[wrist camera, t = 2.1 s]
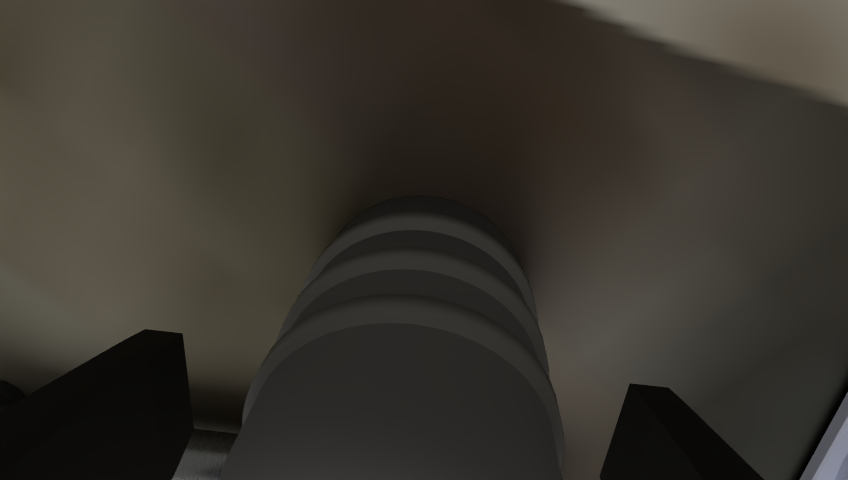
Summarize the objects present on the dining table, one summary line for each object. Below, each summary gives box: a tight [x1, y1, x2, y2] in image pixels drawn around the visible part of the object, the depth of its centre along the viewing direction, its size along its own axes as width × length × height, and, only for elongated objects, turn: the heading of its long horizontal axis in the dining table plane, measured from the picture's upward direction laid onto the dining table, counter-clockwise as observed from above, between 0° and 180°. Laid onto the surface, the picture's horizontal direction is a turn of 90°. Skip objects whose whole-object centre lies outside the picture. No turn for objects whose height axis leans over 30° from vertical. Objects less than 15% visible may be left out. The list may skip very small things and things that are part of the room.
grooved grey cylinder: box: [220, 196, 564, 480], centre depth 10 cm, size 5×5×6 cm
